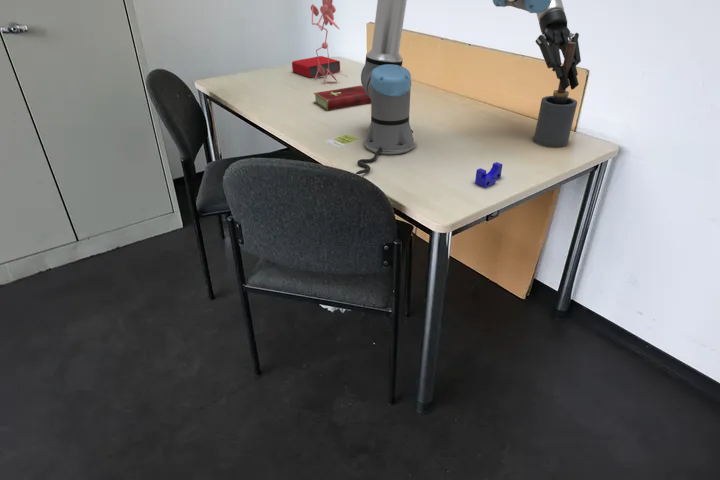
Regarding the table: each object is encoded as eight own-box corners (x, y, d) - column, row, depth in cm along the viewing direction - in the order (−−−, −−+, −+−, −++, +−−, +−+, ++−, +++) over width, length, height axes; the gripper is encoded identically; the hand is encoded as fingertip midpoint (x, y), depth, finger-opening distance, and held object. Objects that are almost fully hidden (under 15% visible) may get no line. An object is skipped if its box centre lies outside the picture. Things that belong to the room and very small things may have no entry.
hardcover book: (375, 102, 189) (375, 91, 187) (327, 111, 181) (326, 100, 179) (361, 95, 198) (361, 84, 196) (314, 102, 190) (313, 92, 188)
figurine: (330, 88, 207) (326, -2, 188) (306, 75, 226) (300, -9, 207) (361, 83, 213) (360, -5, 194) (335, 70, 232) (332, -11, 213)
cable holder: (484, 187, 127) (486, 174, 125) (474, 183, 129) (476, 169, 127) (504, 179, 131) (507, 166, 129) (494, 175, 133) (496, 161, 131)
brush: (563, 120, 147) (580, 44, 135) (548, 119, 148) (563, 43, 136) (563, 116, 151) (579, 41, 139) (548, 114, 152) (563, 40, 140)
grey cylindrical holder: (568, 148, 148) (578, 107, 141) (533, 145, 151) (541, 104, 144) (566, 137, 156) (576, 97, 149) (534, 134, 159) (541, 94, 152)
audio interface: (322, 66, 240) (322, 55, 237) (340, 71, 230) (339, 60, 228) (292, 72, 230) (291, 61, 228) (309, 78, 221) (308, 66, 218)
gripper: (567, 23, 150) (586, 92, 146) (522, 26, 148) (540, 95, 143) (581, 7, 143) (601, 78, 138) (534, 9, 140) (553, 82, 136)
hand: (570, 87), depth 141 cm, fingers closed on brush, 2 cm apart
